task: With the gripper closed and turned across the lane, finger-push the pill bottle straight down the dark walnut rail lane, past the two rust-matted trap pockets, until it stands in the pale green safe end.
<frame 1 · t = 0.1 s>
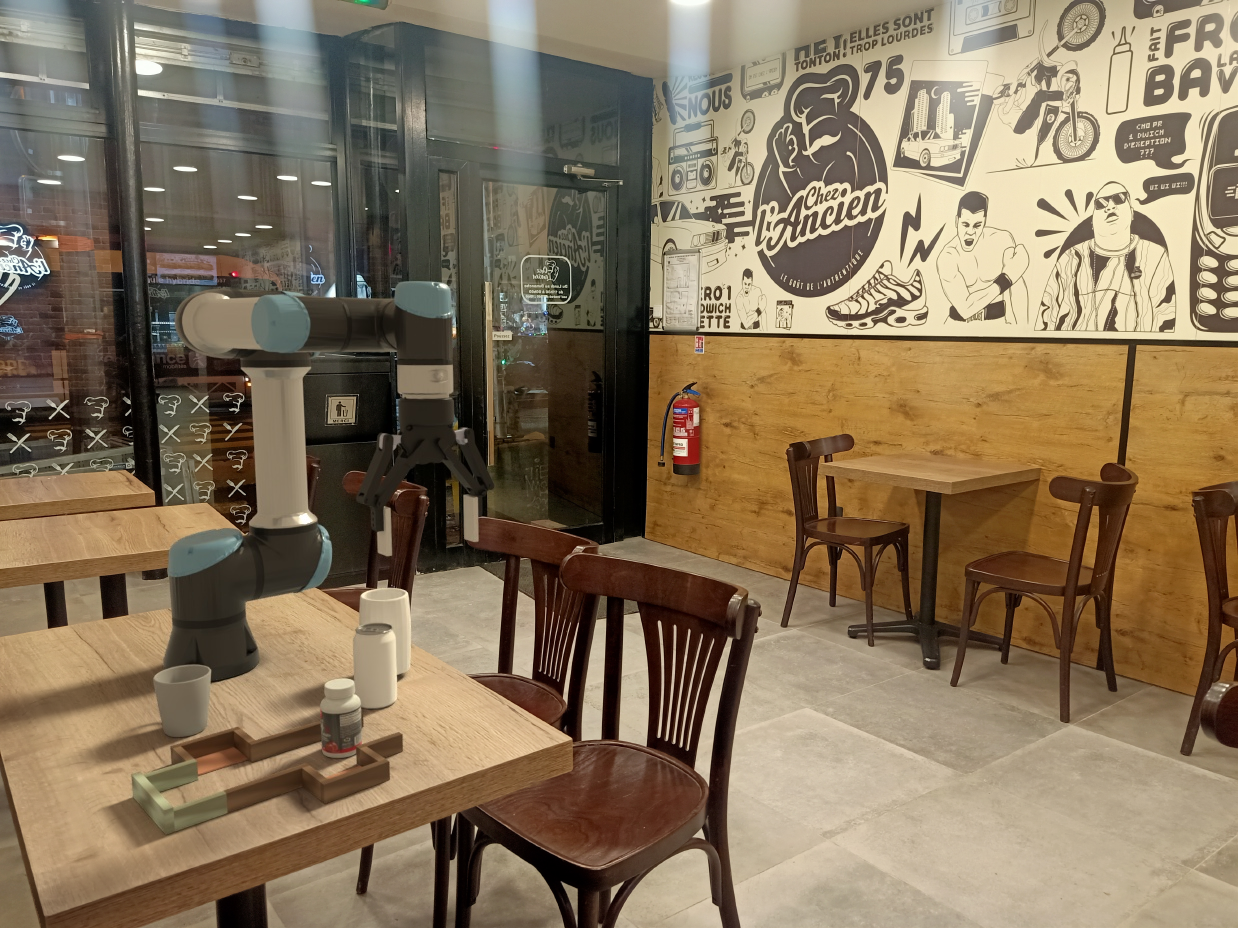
hand: (429, 547, 127), 28 cm above the table, fingers open, 13 cm apart
trap lane: (278, 771, 120), on the table
pill bottle: (342, 751, 126), on the table
cup: (386, 676, 154), on the table
cup 2: (185, 727, 133), on the table
can: (376, 702, 143), on the table
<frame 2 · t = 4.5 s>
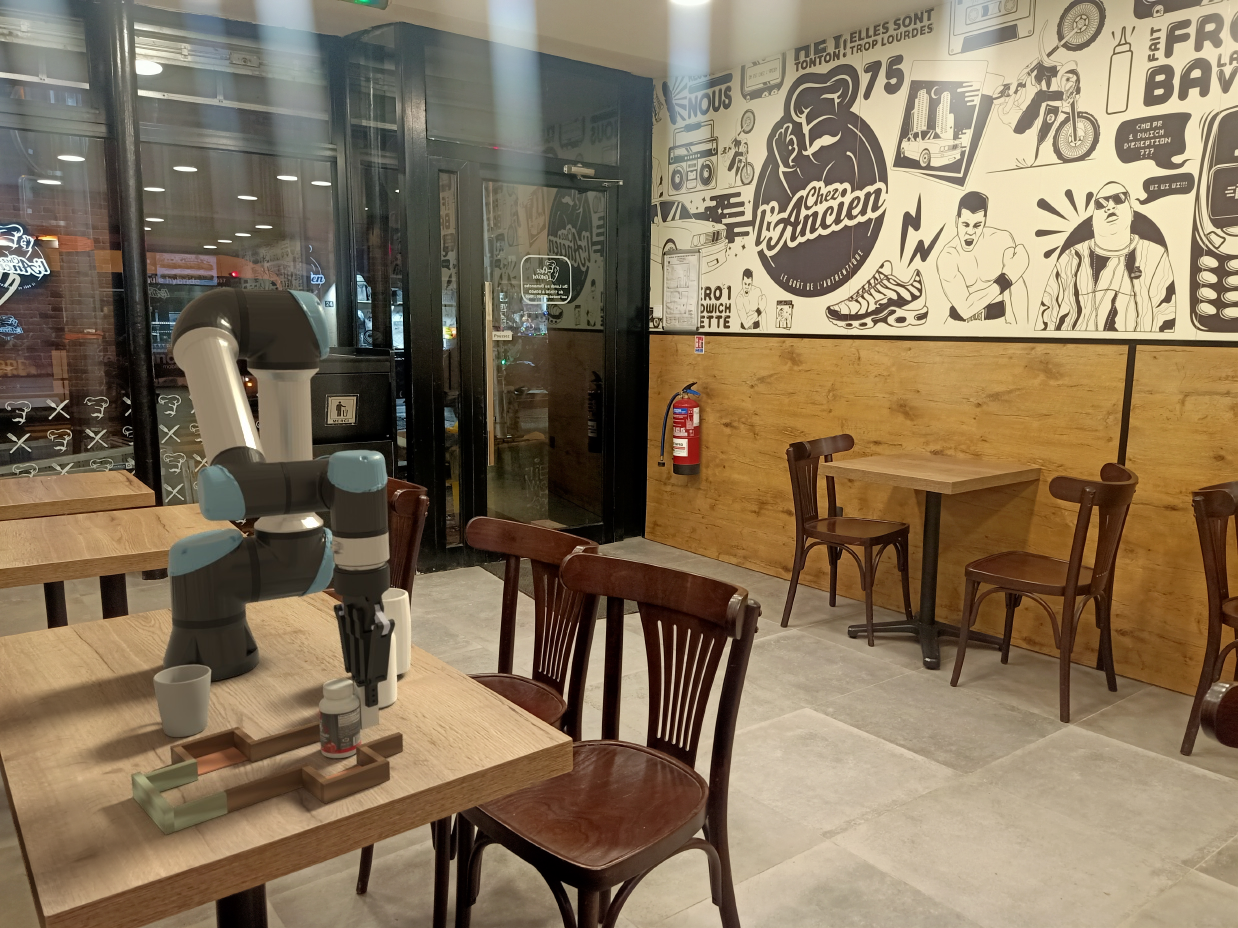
hand: (367, 725, 128), 2 cm above the table, fingers closed
pill bottle: (341, 751, 126), on the table, touching gripper
everything else where it was.
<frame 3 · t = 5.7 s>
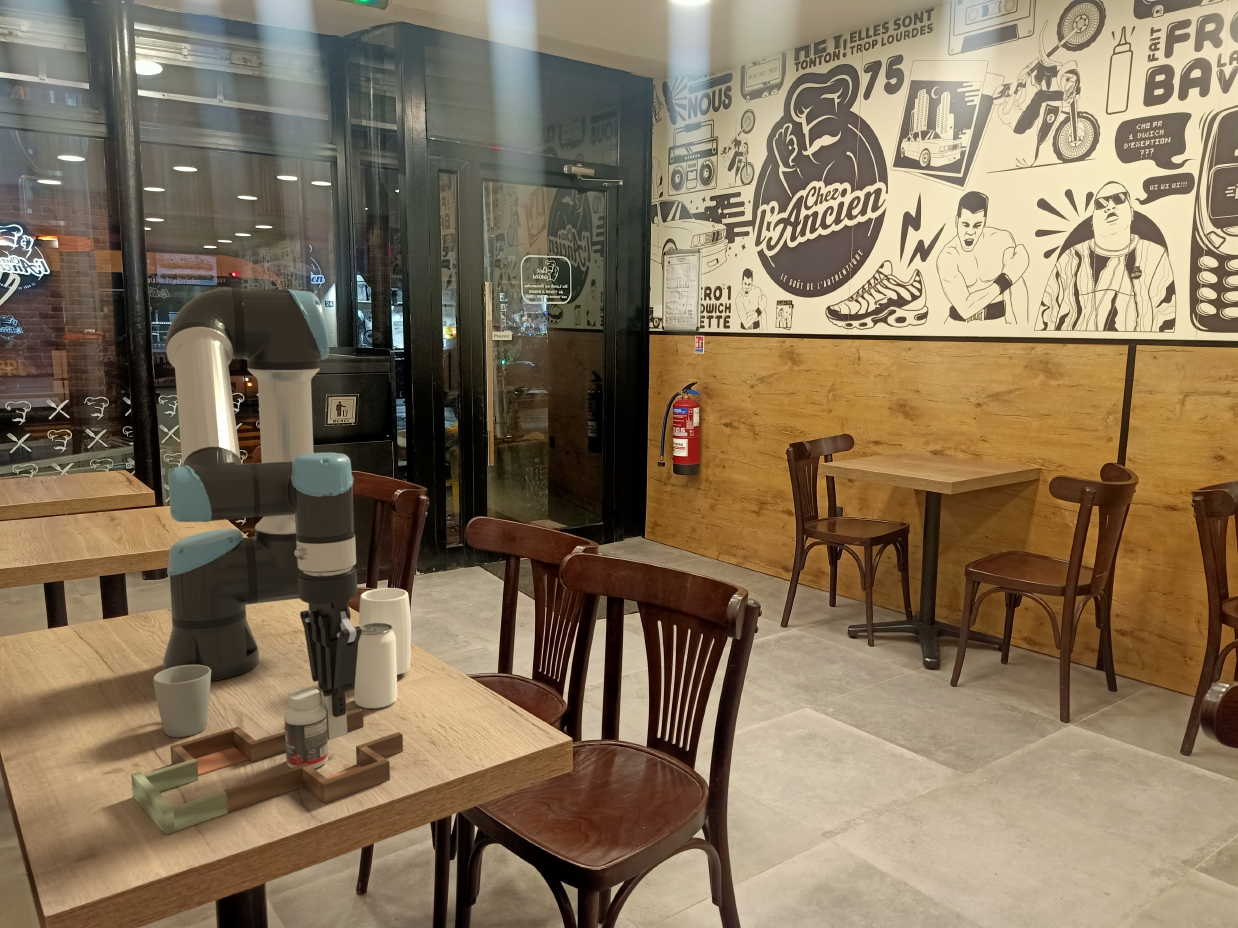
hand: (335, 735, 125), 3 cm above the table, fingers closed
pill bottle: (307, 763, 122), on the table, touching gripper
everything else where it was.
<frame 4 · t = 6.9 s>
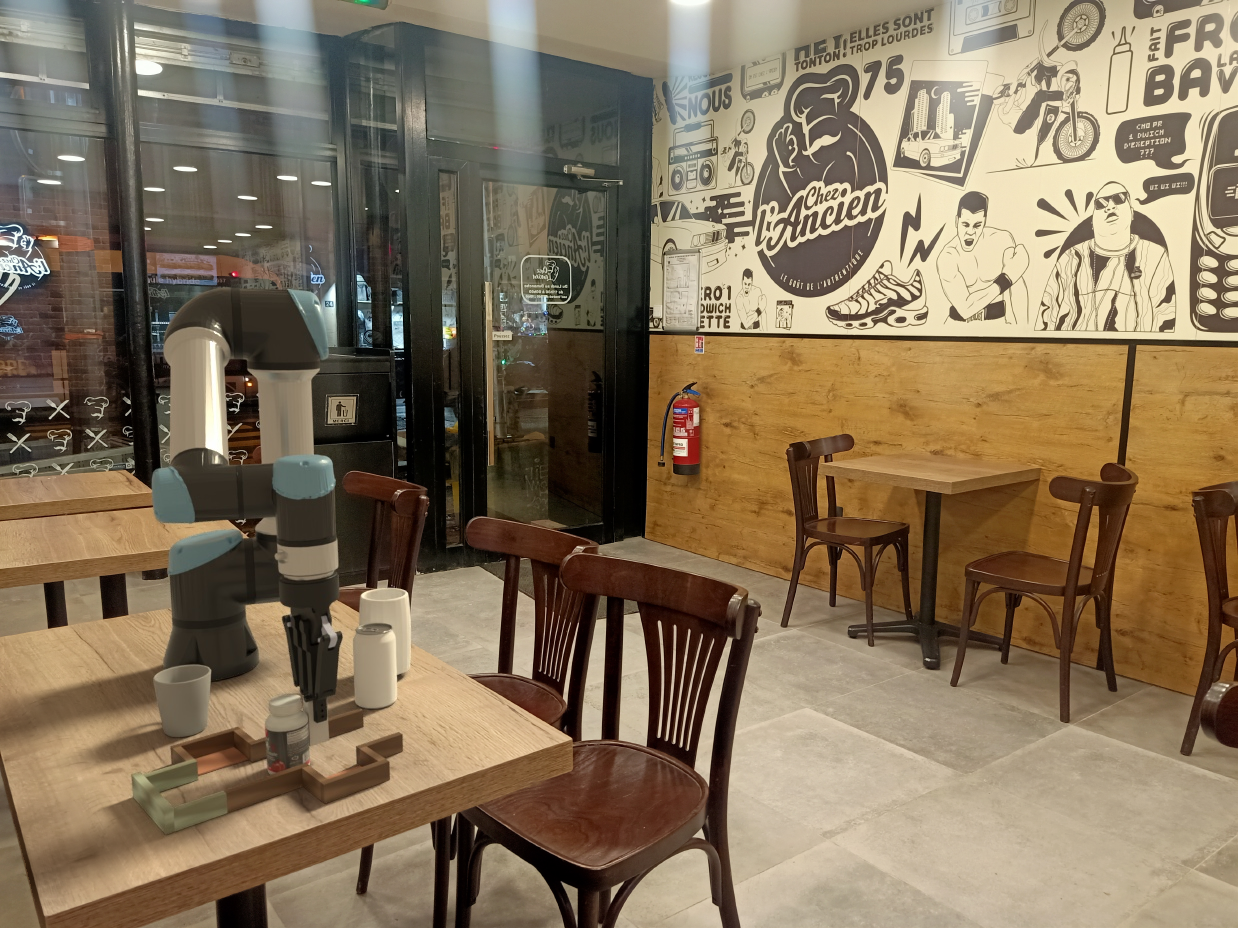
hand: (317, 741, 123), 2 cm above the table, fingers closed
pill bottle: (289, 770, 120), on the table, touching gripper
everything else where it was.
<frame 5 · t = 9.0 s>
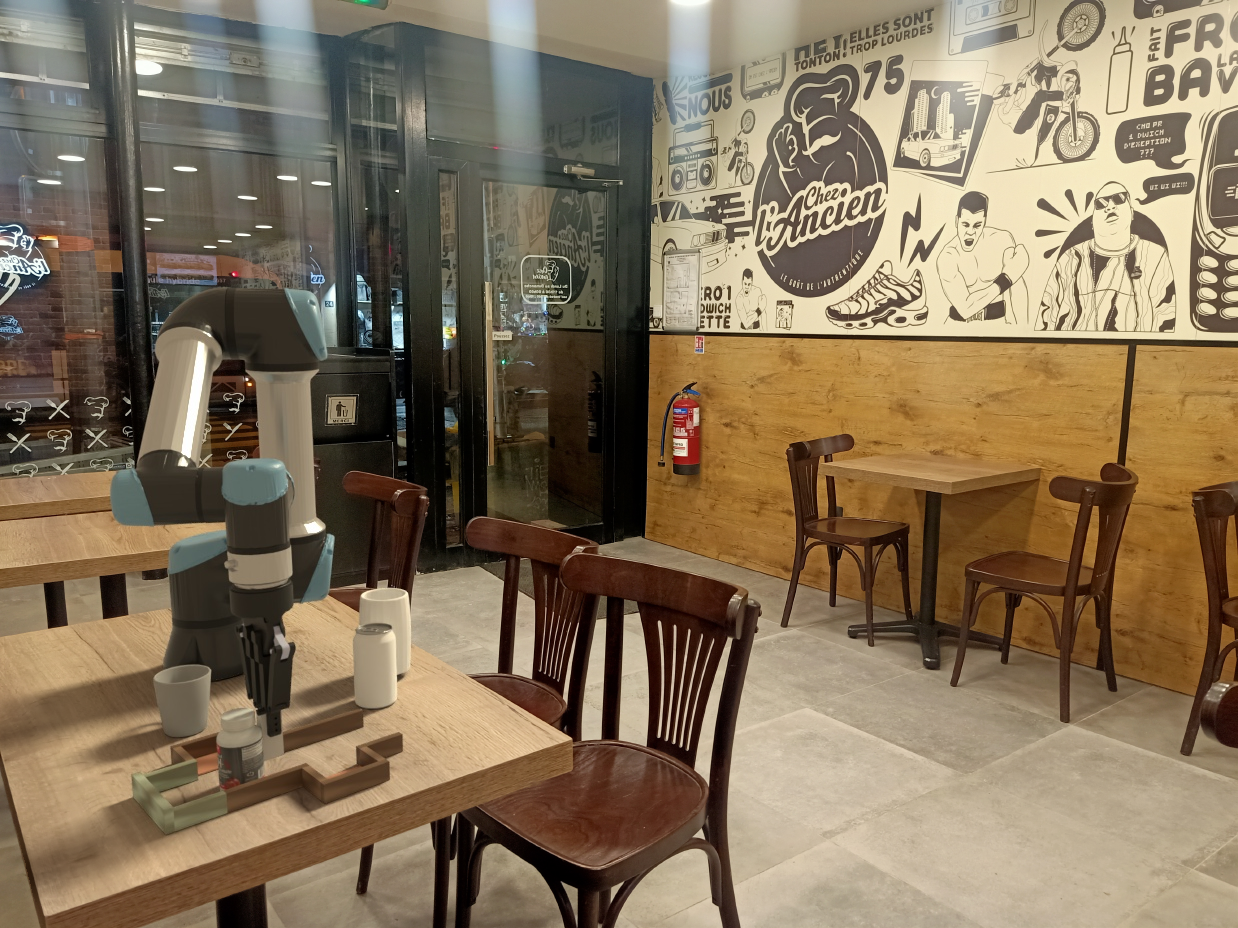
hand: (271, 755, 118), 3 cm above the table, fingers closed
pill bottle: (242, 787, 116), on the table, touching gripper
everything else where it was.
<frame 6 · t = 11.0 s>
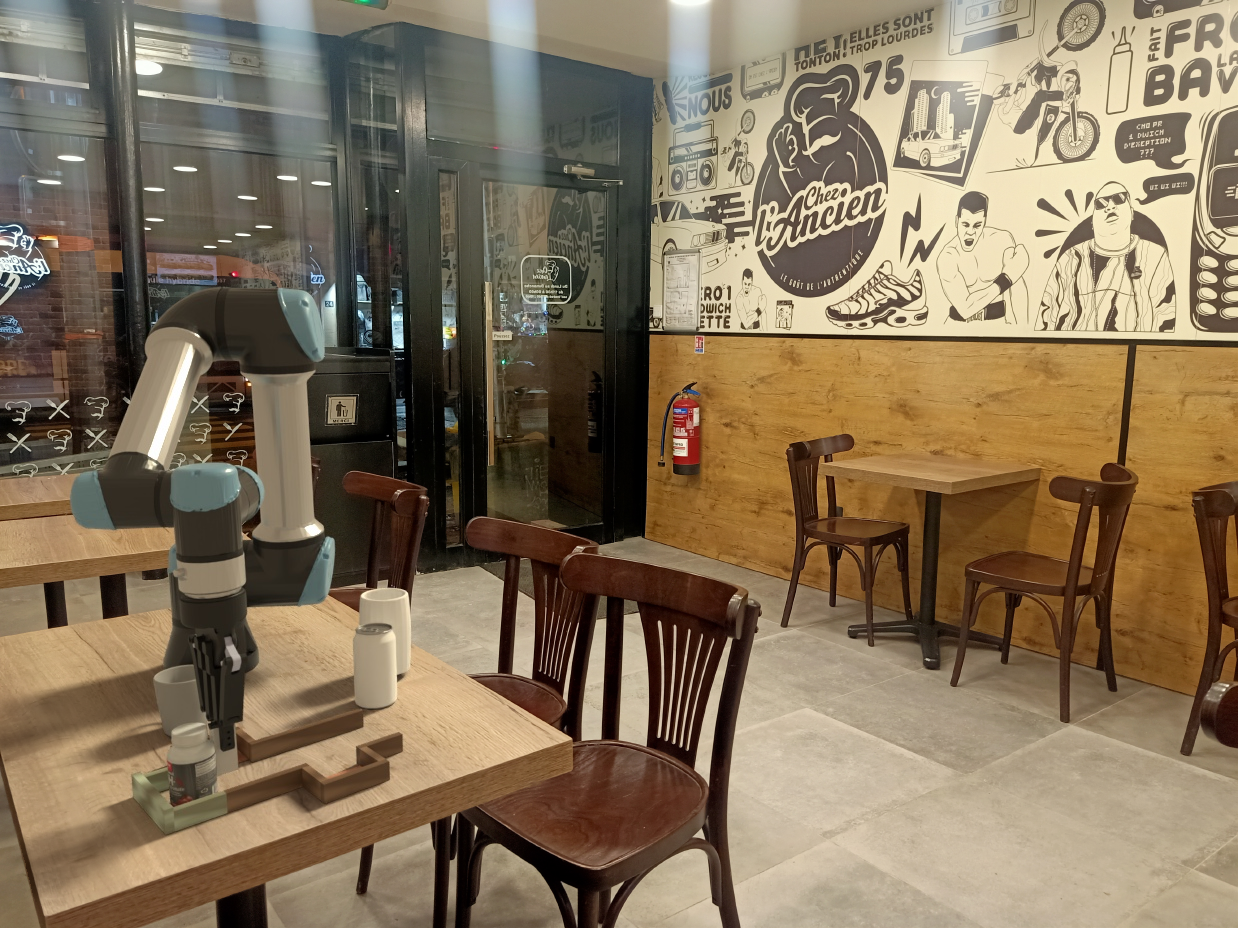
hand: (225, 770, 114), 3 cm above the table, fingers closed
pill bottle: (194, 805, 111), on the table, touching gripper
everything else where it was.
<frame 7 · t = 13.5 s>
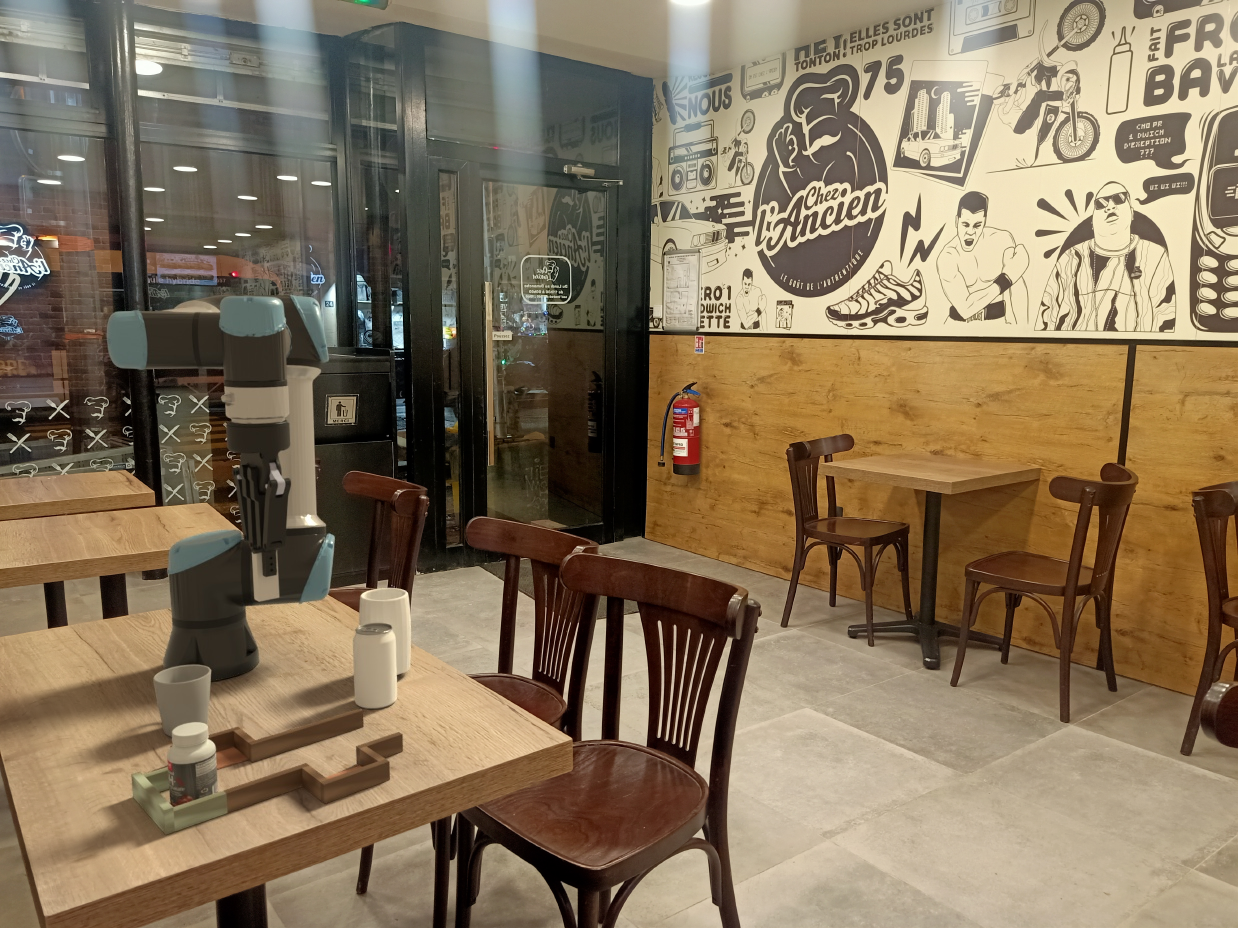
hand: (266, 598, 119), 23 cm above the table, fingers closed
pill bottle: (194, 805, 111), on the table
everything else where it was.
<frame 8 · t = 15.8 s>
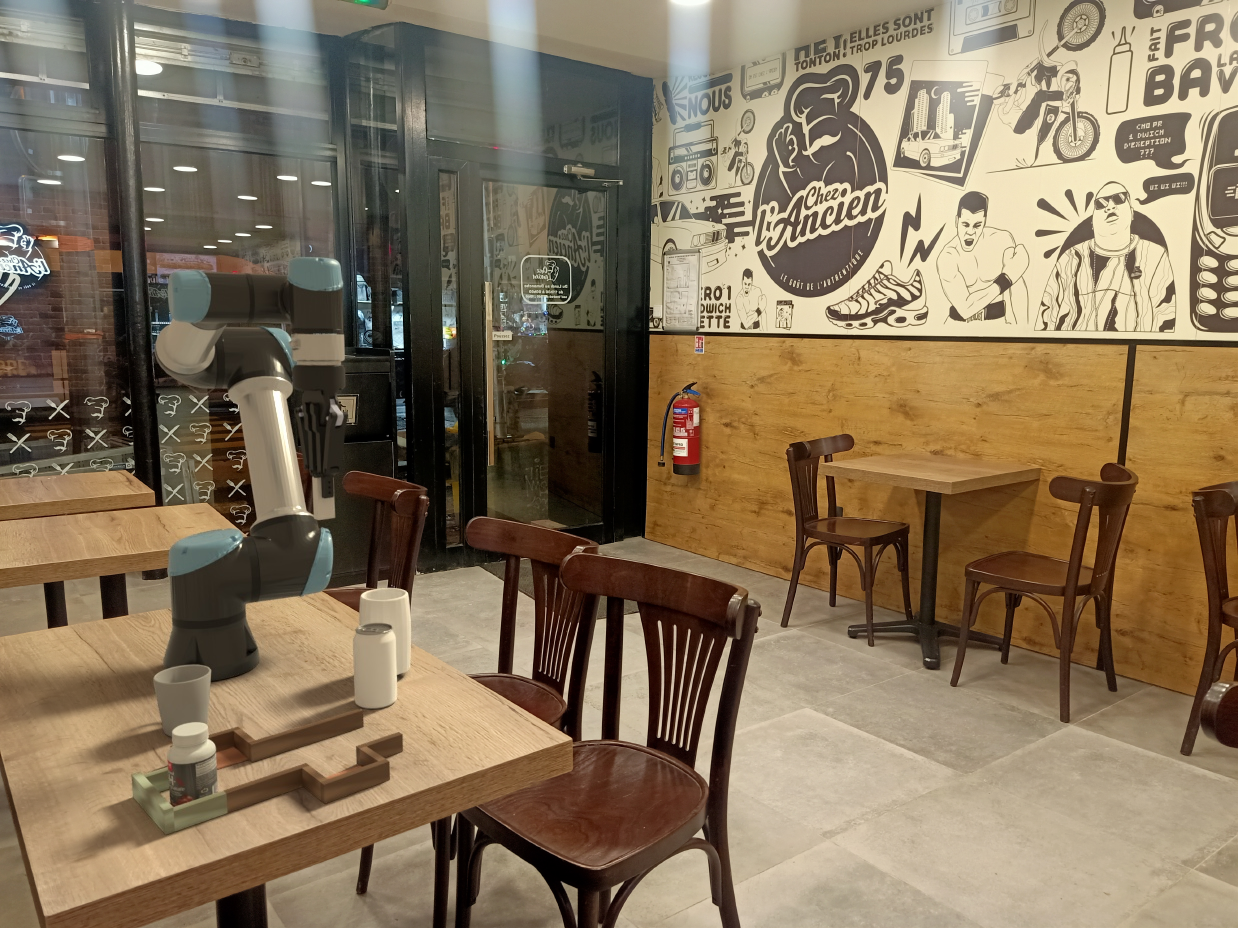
hand: (324, 518, 139), 29 cm above the table, fingers closed
nothing on the table moved.
at the end: pill bottle inside the target area (1.0 cm from its centre), on the table; pill bottle tilted 0° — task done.
